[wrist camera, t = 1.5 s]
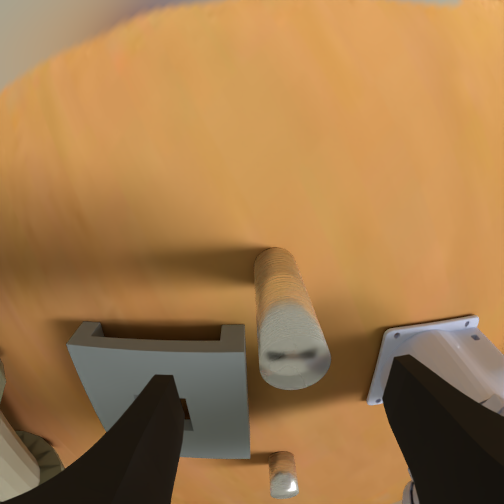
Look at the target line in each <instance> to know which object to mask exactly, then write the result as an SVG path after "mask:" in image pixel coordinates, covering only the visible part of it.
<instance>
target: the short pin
mask: <svg viewBox="0 0 504 504" xmlns="http://www.w3.org/2000/svg"><path fill="white" fill-rule="evenodd" d="M268 461H269V476H270V492H271V496H272V497H273V498H277V499H286V498H291V497H294V496H296V495H297V494H298V493H299V489H298V482H297V474H296V466H295V459H294V455H293V454H292V453H290V452H284V451H283V452H276V453H273V454H272V455H270V456H269V458H268Z"/></svg>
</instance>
